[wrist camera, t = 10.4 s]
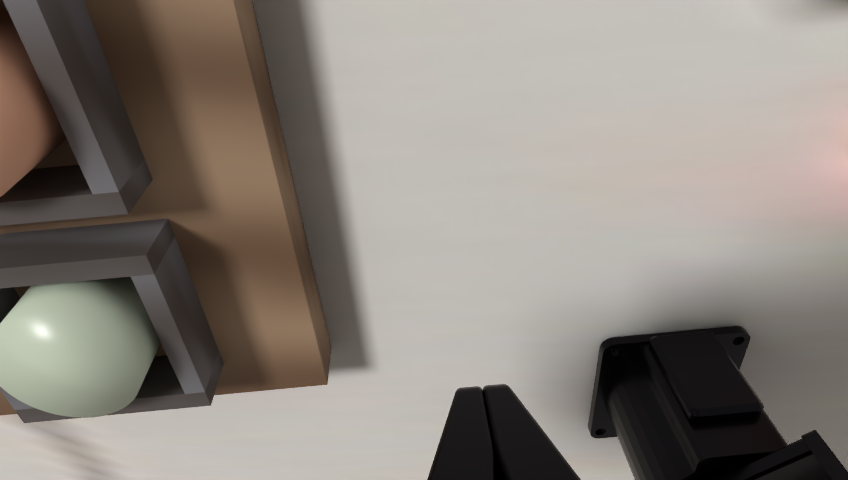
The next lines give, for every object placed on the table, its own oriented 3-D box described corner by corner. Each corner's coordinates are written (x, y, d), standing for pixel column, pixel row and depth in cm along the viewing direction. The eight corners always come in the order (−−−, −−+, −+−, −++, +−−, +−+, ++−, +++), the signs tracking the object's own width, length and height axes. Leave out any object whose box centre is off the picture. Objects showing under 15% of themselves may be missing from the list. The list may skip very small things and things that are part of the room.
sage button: (186, 345, 21) (160, 410, 19) (68, 356, 21) (25, 423, 18) (145, 249, 19) (108, 310, 16) (11, 261, 18) (-47, 324, 16)
